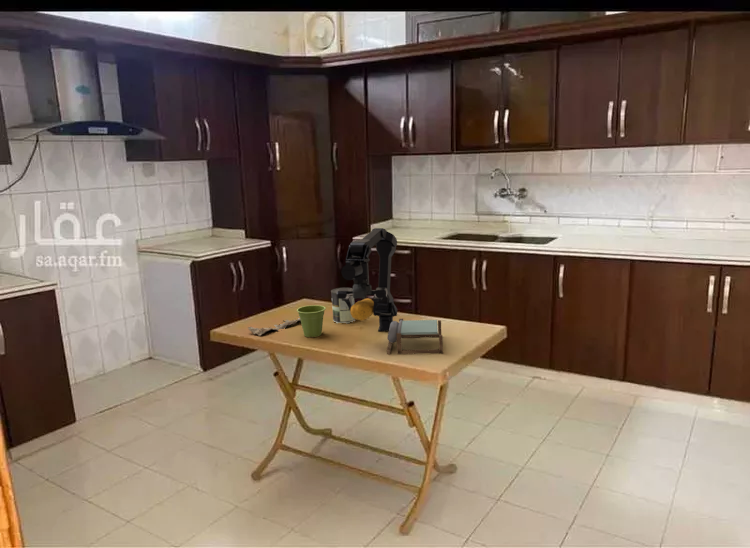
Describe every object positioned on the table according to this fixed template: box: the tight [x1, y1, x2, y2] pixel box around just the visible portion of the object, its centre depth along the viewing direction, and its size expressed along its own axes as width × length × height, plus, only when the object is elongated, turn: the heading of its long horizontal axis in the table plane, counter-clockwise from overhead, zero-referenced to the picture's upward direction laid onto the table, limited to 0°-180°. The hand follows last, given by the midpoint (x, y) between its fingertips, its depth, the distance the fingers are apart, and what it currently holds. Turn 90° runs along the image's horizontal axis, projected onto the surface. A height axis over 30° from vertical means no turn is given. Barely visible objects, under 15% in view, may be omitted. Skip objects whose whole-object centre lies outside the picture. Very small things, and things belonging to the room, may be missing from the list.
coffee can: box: [330, 287, 356, 324], centre depth 244 cm, size 10×10×14 cm
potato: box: [350, 297, 374, 321], centre depth 207 cm, size 7×14×7 cm, turn 154°
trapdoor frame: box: [386, 318, 444, 355], centre depth 206 cm, size 20×20×8 cm
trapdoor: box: [386, 319, 438, 344], centre depth 206 cm, size 16×18×4 cm
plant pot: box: [296, 304, 326, 338], centre depth 225 cm, size 12×12×11 cm
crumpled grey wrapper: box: [247, 318, 301, 336], centre depth 242 cm, size 34×10×3 cm, turn 143°
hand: (363, 315), depth 208 cm, fingers closed on potato, 8 cm apart
